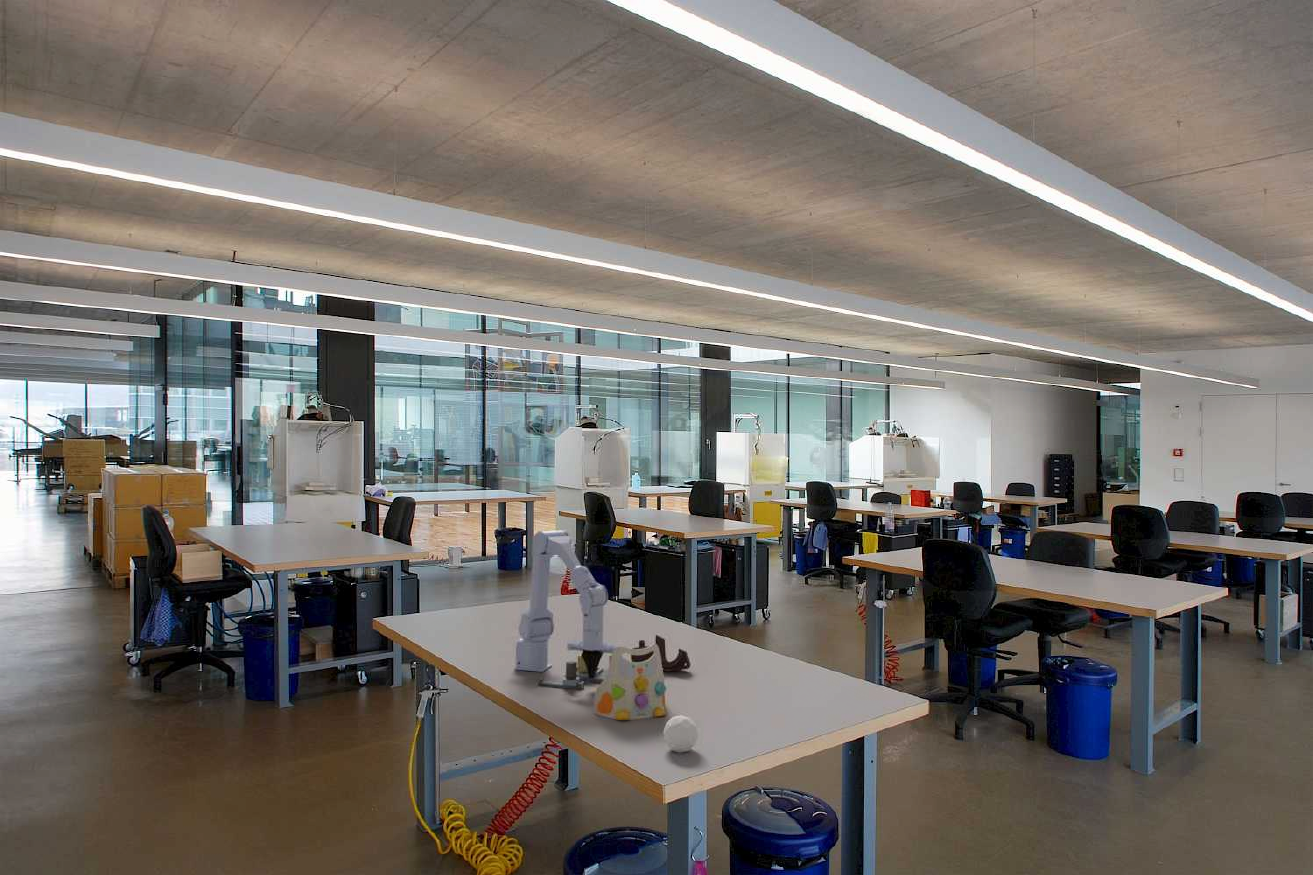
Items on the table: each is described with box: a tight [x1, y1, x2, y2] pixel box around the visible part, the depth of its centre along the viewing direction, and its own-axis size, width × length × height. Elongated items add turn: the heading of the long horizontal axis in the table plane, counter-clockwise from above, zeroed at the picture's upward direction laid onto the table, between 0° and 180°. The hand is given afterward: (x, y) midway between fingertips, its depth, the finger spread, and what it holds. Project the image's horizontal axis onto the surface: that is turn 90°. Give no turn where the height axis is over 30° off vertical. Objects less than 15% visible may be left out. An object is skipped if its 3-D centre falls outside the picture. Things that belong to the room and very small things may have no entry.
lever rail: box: [538, 677, 585, 690], centre depth 226 cm, size 13×2×2 cm, turn 75°
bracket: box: [630, 634, 691, 672], centre depth 246 cm, size 6×18×11 cm, turn 72°
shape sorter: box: [592, 643, 667, 721], centre depth 204 cm, size 20×10×18 cm, turn 113°
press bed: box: [564, 654, 612, 684], centre depth 236 cm, size 14×10×7 cm
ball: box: [662, 714, 699, 754], centre depth 179 cm, size 8×8×8 cm
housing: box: [577, 652, 597, 674], centre depth 236 cm, size 4×4×7 cm
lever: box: [562, 660, 581, 686], centre depth 225 cm, size 4×3×6 cm
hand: (592, 677), depth 224 cm, fingers closed
